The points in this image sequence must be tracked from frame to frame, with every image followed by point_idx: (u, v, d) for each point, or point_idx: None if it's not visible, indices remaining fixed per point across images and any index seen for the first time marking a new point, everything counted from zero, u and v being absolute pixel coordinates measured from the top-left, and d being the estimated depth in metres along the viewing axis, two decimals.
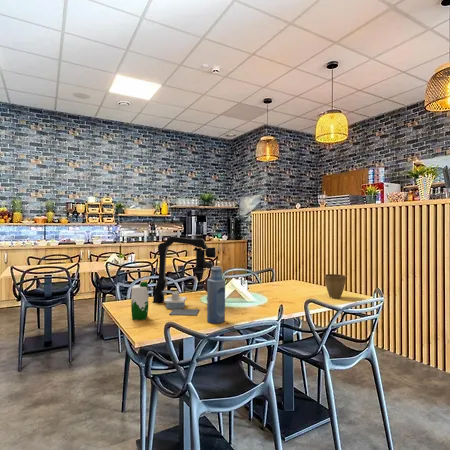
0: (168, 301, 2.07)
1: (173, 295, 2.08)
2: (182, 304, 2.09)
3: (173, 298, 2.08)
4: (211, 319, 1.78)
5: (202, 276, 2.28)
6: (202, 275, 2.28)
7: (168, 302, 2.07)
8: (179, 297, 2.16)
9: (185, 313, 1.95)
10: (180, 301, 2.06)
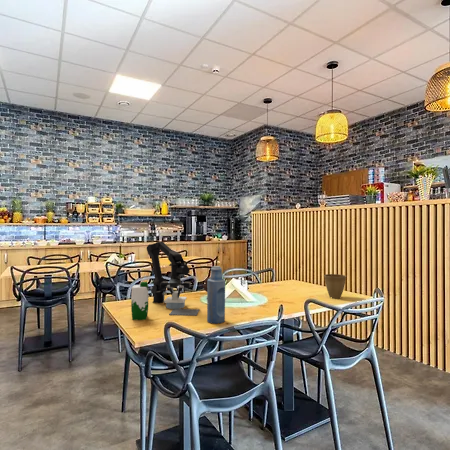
0: (168, 301, 2.07)
1: (173, 295, 2.08)
2: (182, 304, 2.09)
3: (173, 298, 2.08)
4: (211, 319, 1.78)
5: None
6: (178, 294, 2.11)
7: (168, 302, 2.07)
8: (179, 297, 2.16)
9: (185, 313, 1.95)
10: (180, 301, 2.06)
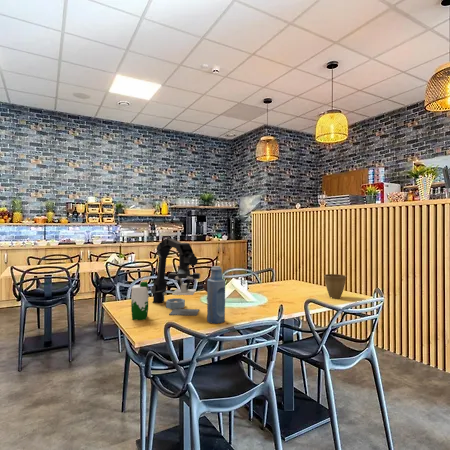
0: (177, 293, 1.94)
1: (182, 287, 1.96)
2: (182, 304, 2.09)
3: (182, 290, 1.96)
4: (211, 319, 1.78)
5: None
6: None
7: (177, 294, 1.94)
8: (188, 289, 2.04)
9: (185, 313, 1.95)
10: (189, 293, 1.94)
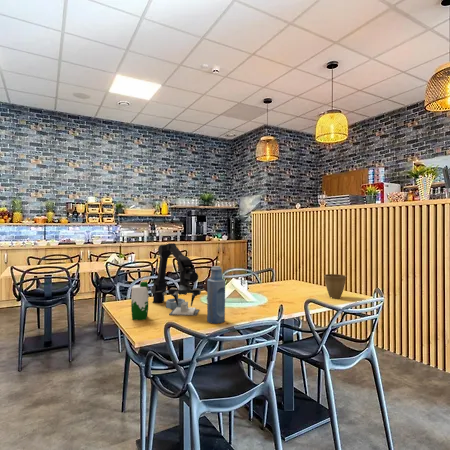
0: (177, 313, 1.93)
1: (182, 306, 1.95)
2: None
3: (182, 309, 1.95)
4: (211, 319, 1.78)
5: (191, 302, 1.98)
6: (191, 301, 1.98)
7: None
8: (188, 308, 2.03)
9: None
10: (190, 313, 1.93)
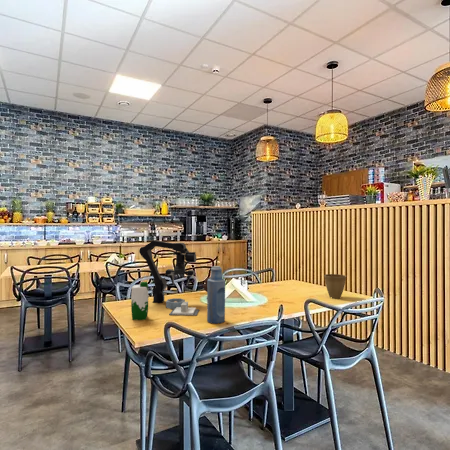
0: (177, 313, 1.93)
1: (182, 306, 1.95)
2: None
3: (182, 309, 1.95)
4: (211, 319, 1.78)
5: (186, 282, 2.21)
6: None
7: None
8: (188, 308, 2.03)
9: None
10: (190, 313, 1.93)
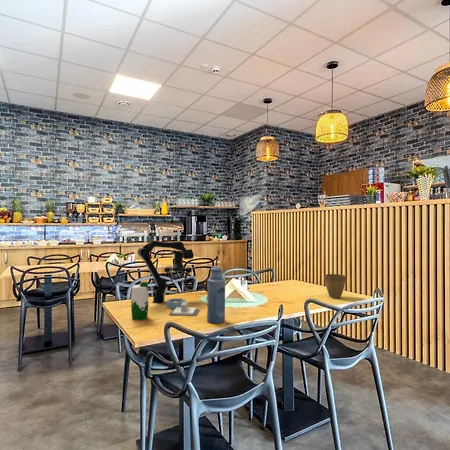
0: (177, 313, 1.93)
1: (182, 306, 1.95)
2: None
3: (182, 309, 1.95)
4: (211, 319, 1.78)
5: None
6: None
7: None
8: (188, 308, 2.03)
9: None
10: (190, 313, 1.93)
